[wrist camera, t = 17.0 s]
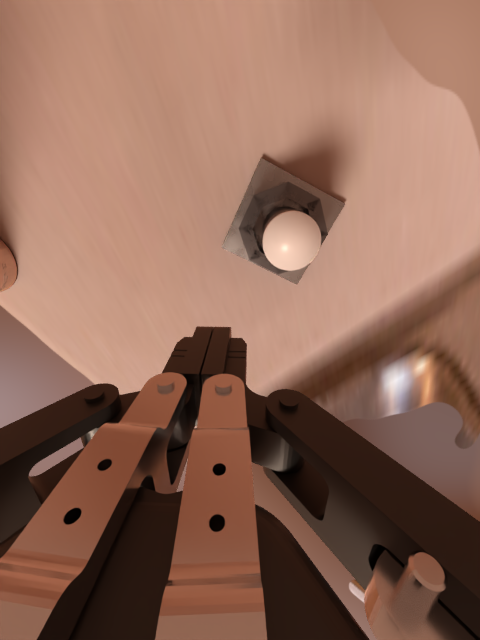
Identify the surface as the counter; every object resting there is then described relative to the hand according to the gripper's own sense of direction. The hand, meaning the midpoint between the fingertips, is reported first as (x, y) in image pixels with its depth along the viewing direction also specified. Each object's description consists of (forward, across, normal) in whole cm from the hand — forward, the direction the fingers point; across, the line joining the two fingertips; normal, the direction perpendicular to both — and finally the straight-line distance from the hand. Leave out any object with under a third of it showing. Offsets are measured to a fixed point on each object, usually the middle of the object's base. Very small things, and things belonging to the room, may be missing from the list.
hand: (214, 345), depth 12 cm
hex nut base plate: (+26, -5, -2) cm, 26 cm away
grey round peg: (+25, -5, -2) cm, 26 cm away
